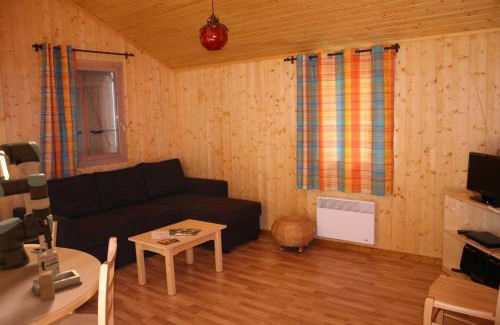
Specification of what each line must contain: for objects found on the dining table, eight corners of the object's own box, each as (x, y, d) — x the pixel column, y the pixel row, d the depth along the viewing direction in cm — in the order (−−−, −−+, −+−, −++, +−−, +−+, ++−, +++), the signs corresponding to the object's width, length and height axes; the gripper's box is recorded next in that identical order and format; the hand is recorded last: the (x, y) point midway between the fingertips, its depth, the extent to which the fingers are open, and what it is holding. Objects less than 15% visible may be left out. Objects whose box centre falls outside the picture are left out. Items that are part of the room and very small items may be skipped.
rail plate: (32, 287, 183) (31, 280, 183) (74, 275, 194) (73, 268, 194) (38, 297, 174) (36, 289, 173) (82, 283, 185) (81, 276, 184)
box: (41, 301, 170) (37, 276, 168) (41, 297, 173) (38, 272, 172) (55, 298, 172) (51, 273, 170) (55, 294, 176) (52, 269, 174)
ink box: (41, 280, 191) (37, 256, 189) (39, 277, 195) (36, 253, 193) (60, 275, 195) (57, 251, 193) (59, 272, 199) (56, 248, 198)
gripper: (26, 204, 198) (32, 247, 200) (37, 213, 178) (43, 260, 181) (43, 201, 202) (49, 243, 205) (56, 210, 182) (62, 256, 185)
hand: (46, 251), depth 193 cm, fingers open, 13 cm apart
